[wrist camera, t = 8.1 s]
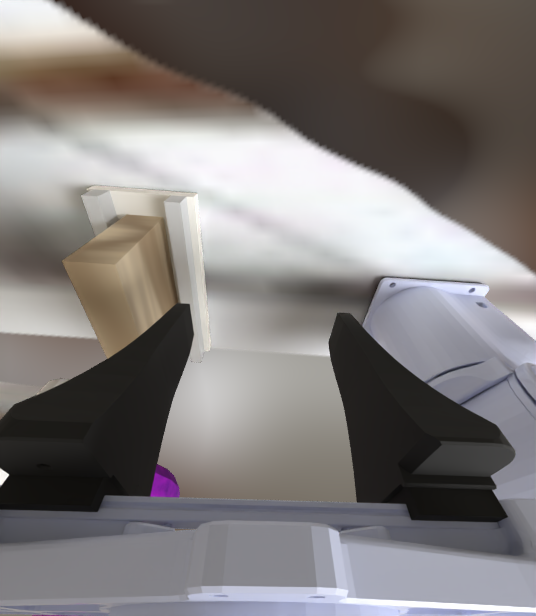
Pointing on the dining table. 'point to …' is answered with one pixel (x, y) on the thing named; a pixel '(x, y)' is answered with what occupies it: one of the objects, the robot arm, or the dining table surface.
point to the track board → (181, 240)
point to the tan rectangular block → (124, 279)
